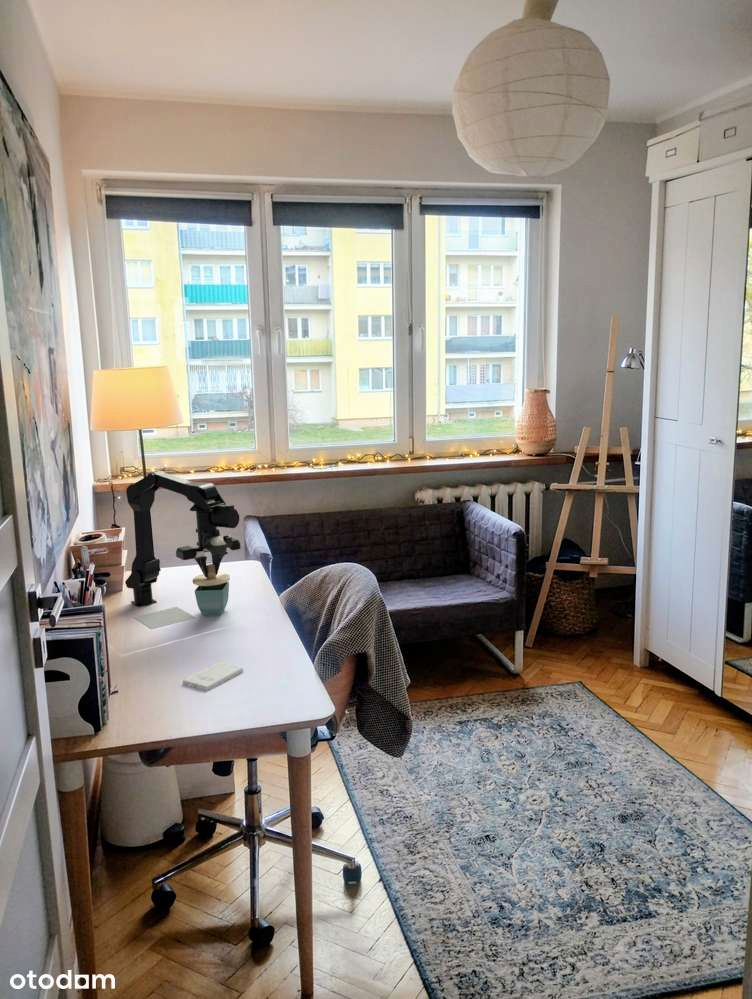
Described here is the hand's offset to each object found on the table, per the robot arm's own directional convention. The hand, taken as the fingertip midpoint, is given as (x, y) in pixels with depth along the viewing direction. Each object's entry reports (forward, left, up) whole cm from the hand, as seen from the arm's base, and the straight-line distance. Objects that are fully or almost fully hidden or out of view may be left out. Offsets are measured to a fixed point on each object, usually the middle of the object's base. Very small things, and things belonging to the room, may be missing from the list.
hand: (210, 576), depth 235 cm
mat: (-7, -13, -12) cm, 19 cm away
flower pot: (0, 0, -12) cm, 12 cm away
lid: (0, 0, -1) cm, 1 cm away
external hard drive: (+44, -22, -13) cm, 51 cm away
